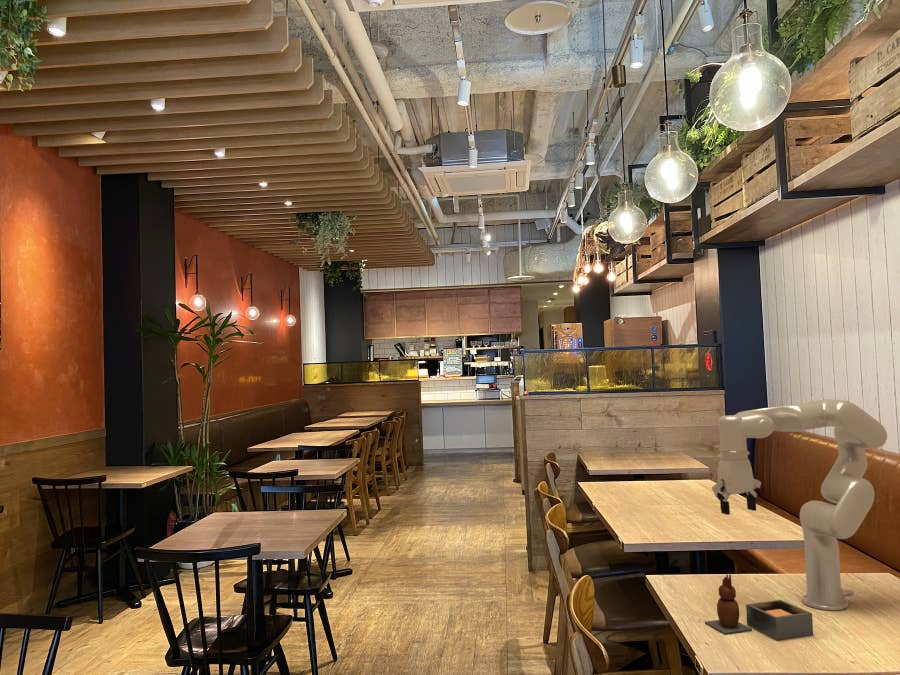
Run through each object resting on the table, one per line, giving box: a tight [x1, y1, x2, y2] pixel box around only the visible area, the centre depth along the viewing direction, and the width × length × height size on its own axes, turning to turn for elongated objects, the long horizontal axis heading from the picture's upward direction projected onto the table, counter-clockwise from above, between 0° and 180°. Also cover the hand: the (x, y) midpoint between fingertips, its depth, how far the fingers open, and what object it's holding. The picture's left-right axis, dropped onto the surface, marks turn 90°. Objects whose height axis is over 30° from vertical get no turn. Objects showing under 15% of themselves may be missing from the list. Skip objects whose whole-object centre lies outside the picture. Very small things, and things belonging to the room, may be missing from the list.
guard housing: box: [745, 599, 814, 642], centre depth 195 cm, size 12×12×6 cm
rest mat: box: [704, 619, 753, 636], centre depth 198 cm, size 9×9×1 cm
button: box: [765, 609, 792, 617], centre depth 195 cm, size 7×7×2 cm
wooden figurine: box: [716, 573, 740, 627], centre depth 198 cm, size 7×6×15 cm
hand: (738, 511), depth 211 cm, fingers open, 9 cm apart
